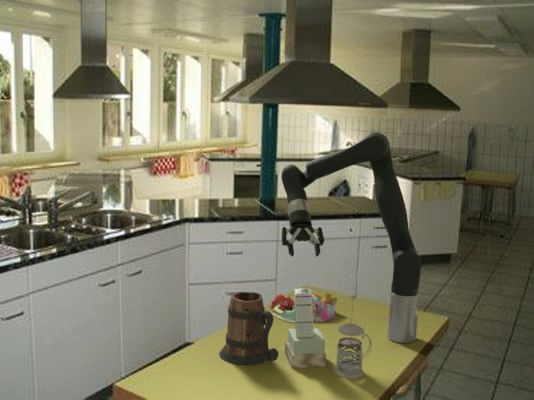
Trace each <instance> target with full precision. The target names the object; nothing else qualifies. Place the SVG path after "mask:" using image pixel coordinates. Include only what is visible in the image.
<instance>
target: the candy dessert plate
mask: <svg viewBox="0 0 534 400" xmlns="http://www.w3.org/2000/svg"><path fill="white" fill-rule="evenodd" d="M325 293H326V294H325V298H324V296H322V295H321V294H319V293H318V292H316V291H315V290H313V289H312V302H313V322H315V323H316V322H317V323H319V322H320V323H321V322H327V321H329V320H332V319H334V318H335V316H336V312H337V311H335V306H336V303H337V300H338V297H332V295H333V293H332V292H330V291H328V292H325ZM270 303H271V304H270V305H269V308H270V309H269V311H270V312H271V313H272V315H273V318H274V317H275V318H277V319H278V320H281V321H283V322H287V323H290V324H295V299H294V297H293V299H292V297H291V296H289V295H287V296H285V294H282V293H277V294H276V295H275V297H274V299H272V300H271V302H270Z"/></svg>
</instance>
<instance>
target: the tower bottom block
mask: <svg viewBox="0 0 534 400" xmlns="http://www.w3.org/2000/svg"><path fill="white" fill-rule="evenodd" d="M284 354H285V357H286V359H287V361H288V363H289V366H290V367H291V369H296V368H297V369H298V368H318V367H319V368H321V367H326V362H327V361H326V360H327V354H326V352H325V353H323V354H293V352H292V350H291V348H290V346H289V343H288V341H284Z"/></svg>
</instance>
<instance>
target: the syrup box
mask: <svg viewBox="0 0 534 400" xmlns="http://www.w3.org/2000/svg"><path fill="white" fill-rule="evenodd" d="M312 290H313V289H312V288H307V287H306V288H305V287H304V288H302V287H301V288H294V293H293V294H294V297H293V298H294V299H295V323H294V325H295V329H296V337H313V336H314V331H313V328H314V321H313V302H312Z"/></svg>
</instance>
